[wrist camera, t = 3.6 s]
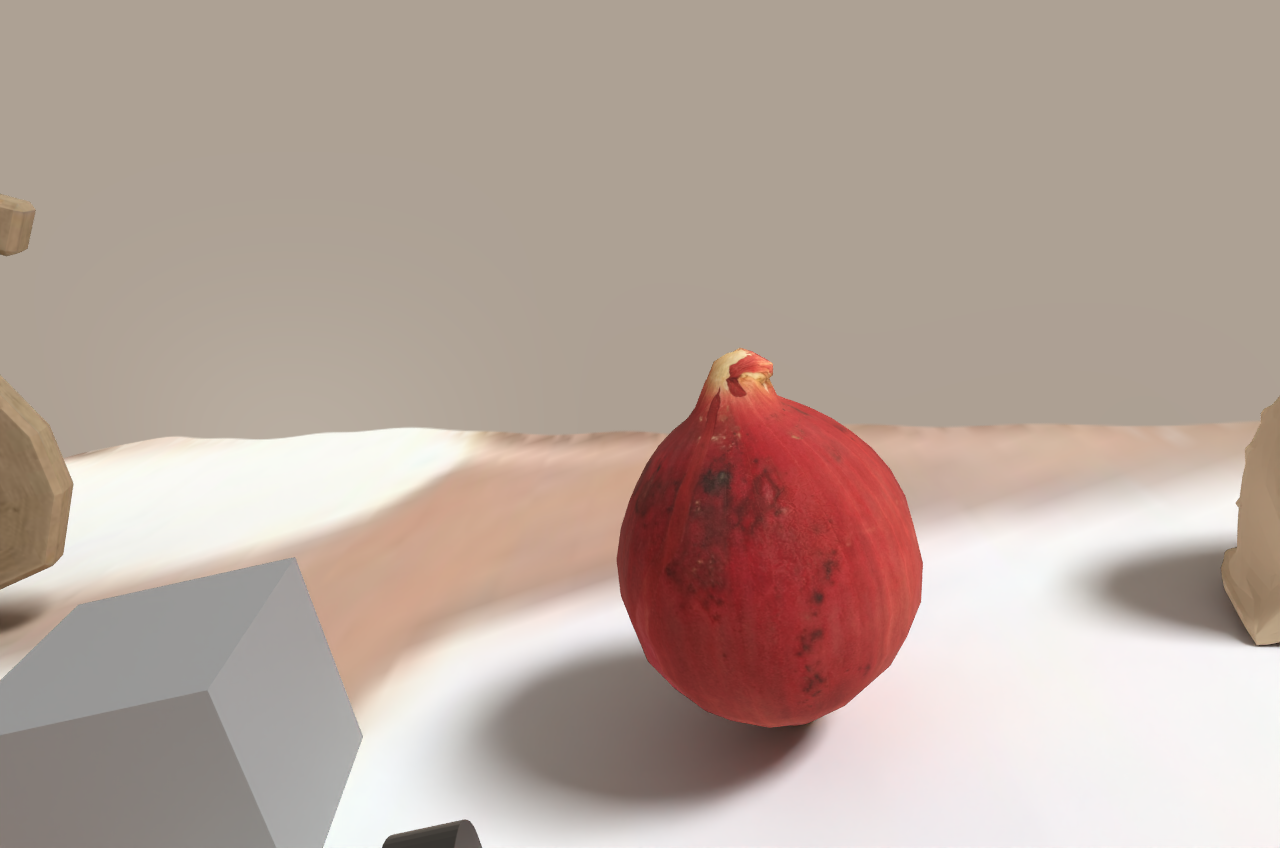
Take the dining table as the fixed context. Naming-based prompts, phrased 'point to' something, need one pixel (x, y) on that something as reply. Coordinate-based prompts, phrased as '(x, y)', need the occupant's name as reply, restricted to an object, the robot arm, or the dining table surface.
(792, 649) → the red squash
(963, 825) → the dining table surface
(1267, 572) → the decorative ornament
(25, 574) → the tankard
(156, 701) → the grey block
